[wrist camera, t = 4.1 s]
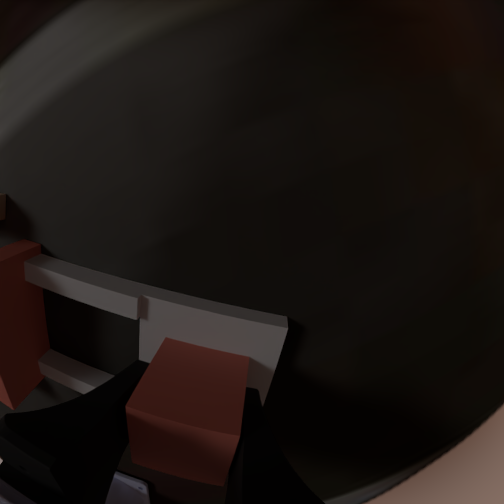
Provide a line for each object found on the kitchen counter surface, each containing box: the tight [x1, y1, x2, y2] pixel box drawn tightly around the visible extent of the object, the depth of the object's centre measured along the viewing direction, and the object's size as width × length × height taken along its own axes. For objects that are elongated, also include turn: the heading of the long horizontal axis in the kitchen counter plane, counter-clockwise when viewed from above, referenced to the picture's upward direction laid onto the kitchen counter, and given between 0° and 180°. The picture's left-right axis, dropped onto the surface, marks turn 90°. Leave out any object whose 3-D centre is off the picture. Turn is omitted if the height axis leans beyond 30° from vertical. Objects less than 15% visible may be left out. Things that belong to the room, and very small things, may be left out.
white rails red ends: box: [0, 239, 288, 486], centre depth 11 cm, size 8×14×5 cm, turn 78°
